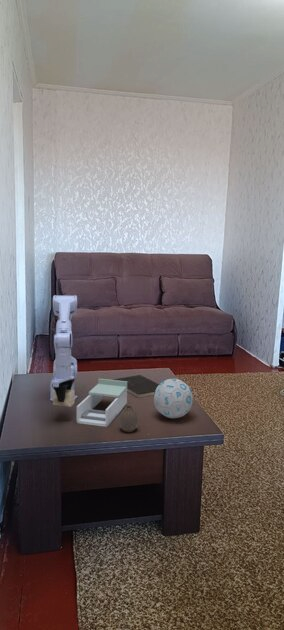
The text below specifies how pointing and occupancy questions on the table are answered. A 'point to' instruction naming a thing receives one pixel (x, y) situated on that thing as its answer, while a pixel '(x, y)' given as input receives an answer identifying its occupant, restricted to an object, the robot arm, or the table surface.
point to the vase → (128, 419)
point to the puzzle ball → (173, 398)
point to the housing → (96, 416)
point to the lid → (109, 388)
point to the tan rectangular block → (68, 398)
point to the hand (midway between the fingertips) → (63, 399)
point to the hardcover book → (139, 385)
